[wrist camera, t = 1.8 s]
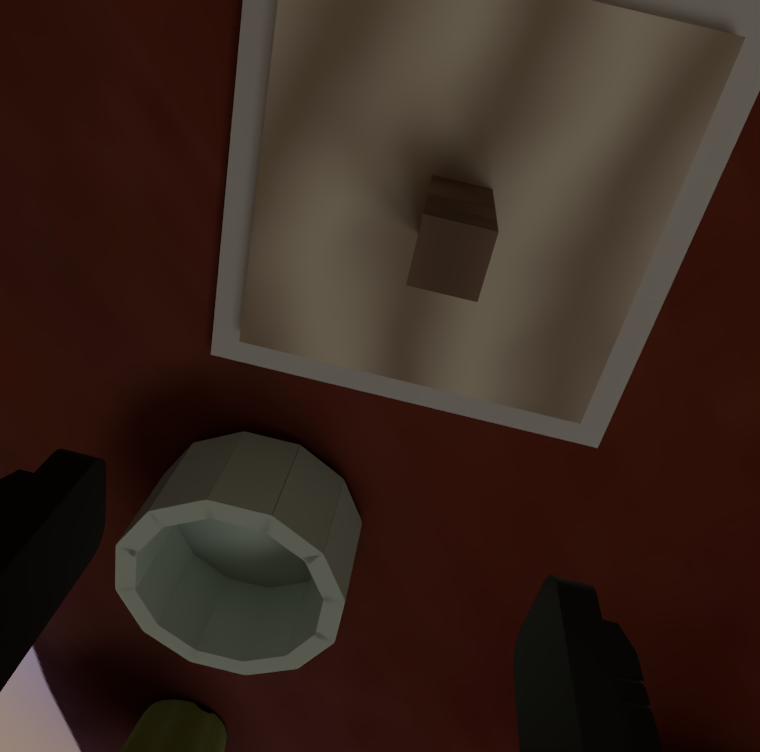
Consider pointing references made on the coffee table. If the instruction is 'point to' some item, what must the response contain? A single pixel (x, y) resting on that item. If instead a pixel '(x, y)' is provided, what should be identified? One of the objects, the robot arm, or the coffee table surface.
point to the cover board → (486, 124)
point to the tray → (748, 76)
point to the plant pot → (176, 729)
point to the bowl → (241, 555)
